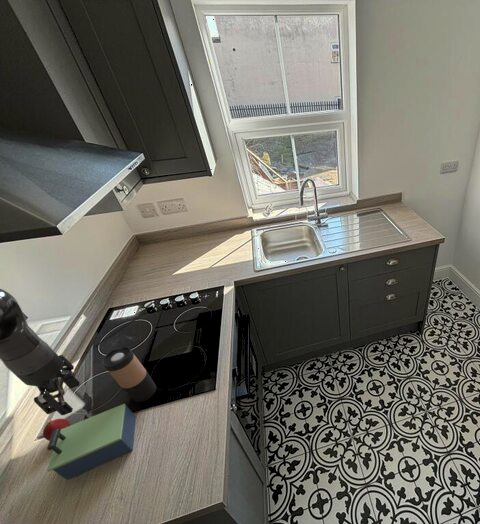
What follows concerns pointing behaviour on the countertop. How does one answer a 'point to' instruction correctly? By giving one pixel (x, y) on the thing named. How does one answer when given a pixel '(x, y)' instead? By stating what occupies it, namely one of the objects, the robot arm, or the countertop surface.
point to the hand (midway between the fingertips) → (72, 398)
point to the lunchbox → (102, 451)
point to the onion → (54, 427)
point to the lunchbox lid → (85, 437)
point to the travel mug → (129, 374)
